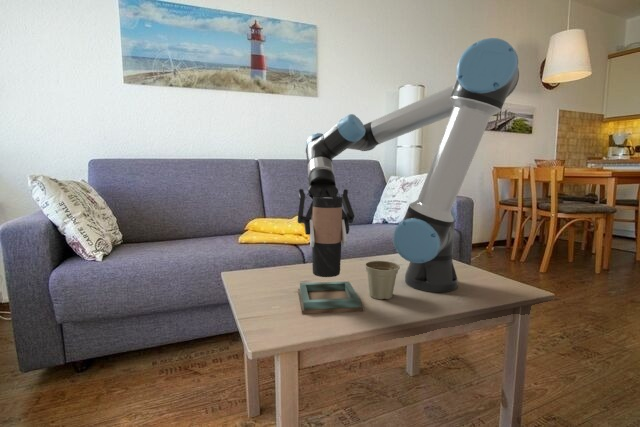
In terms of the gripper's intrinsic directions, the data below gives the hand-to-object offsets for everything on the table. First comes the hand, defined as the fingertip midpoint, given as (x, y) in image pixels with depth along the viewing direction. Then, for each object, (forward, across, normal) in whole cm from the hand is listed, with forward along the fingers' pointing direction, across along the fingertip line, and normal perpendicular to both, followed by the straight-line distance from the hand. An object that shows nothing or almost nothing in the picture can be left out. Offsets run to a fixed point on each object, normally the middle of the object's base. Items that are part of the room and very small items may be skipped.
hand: (328, 243), depth 84 cm
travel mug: (+4, 0, -9) cm, 9 cm away
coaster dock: (+9, -1, -13) cm, 16 cm away
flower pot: (+8, -16, -15) cm, 23 cm away
